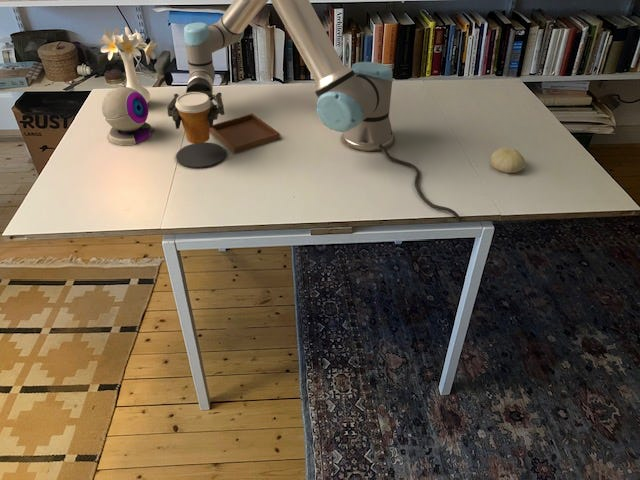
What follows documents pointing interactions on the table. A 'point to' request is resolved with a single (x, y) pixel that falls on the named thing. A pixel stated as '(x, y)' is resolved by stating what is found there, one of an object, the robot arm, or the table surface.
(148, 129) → the webcam
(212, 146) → the coaster
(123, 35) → the flower vase
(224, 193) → the table surface
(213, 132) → the tray
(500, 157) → the sea urchin shell
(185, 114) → the disposable coffee cup
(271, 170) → the table surface
